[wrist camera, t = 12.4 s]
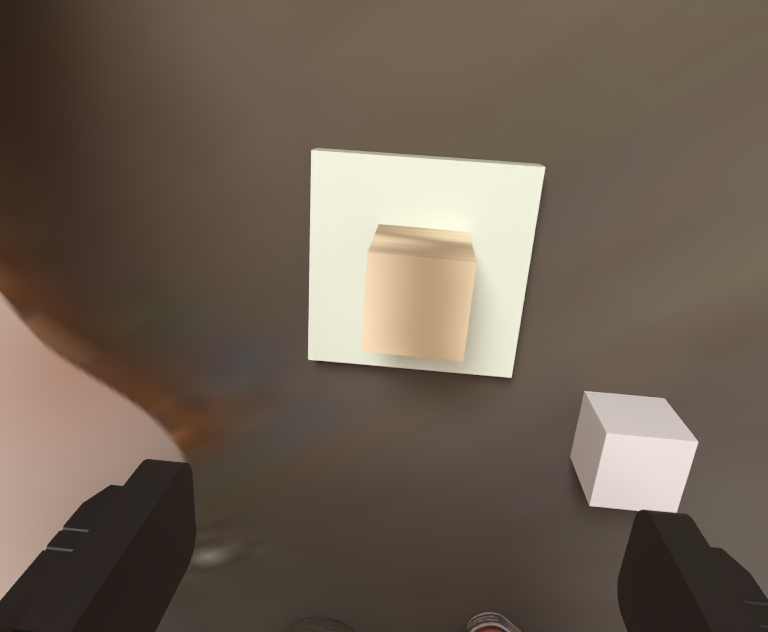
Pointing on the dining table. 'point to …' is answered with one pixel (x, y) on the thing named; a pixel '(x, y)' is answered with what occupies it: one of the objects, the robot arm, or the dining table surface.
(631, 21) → the dining table surface
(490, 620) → the lighter
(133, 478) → the robot arm
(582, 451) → the white block
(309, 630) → the metal tin
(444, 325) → the beech block
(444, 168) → the plate
